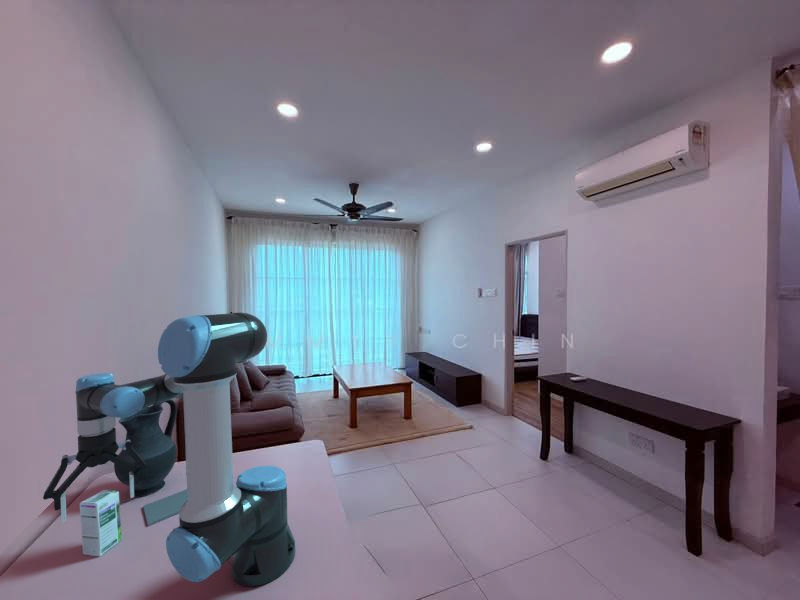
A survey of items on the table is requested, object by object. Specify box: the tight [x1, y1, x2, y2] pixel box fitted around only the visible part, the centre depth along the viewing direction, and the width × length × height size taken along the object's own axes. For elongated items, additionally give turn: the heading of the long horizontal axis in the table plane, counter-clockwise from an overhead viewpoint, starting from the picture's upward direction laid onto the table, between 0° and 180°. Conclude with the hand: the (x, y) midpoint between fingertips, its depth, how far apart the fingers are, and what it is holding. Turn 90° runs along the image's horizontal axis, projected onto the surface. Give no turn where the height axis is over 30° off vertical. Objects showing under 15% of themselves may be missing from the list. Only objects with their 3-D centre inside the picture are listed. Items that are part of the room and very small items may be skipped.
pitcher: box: [113, 399, 178, 498], centre depth 115 cm, size 17×21×30 cm
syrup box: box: [79, 489, 122, 557], centre depth 87 cm, size 6×6×14 cm
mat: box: [142, 488, 188, 527], centre depth 103 cm, size 12×12×1 cm
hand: (99, 507), depth 87 cm, fingers open, 13 cm apart
